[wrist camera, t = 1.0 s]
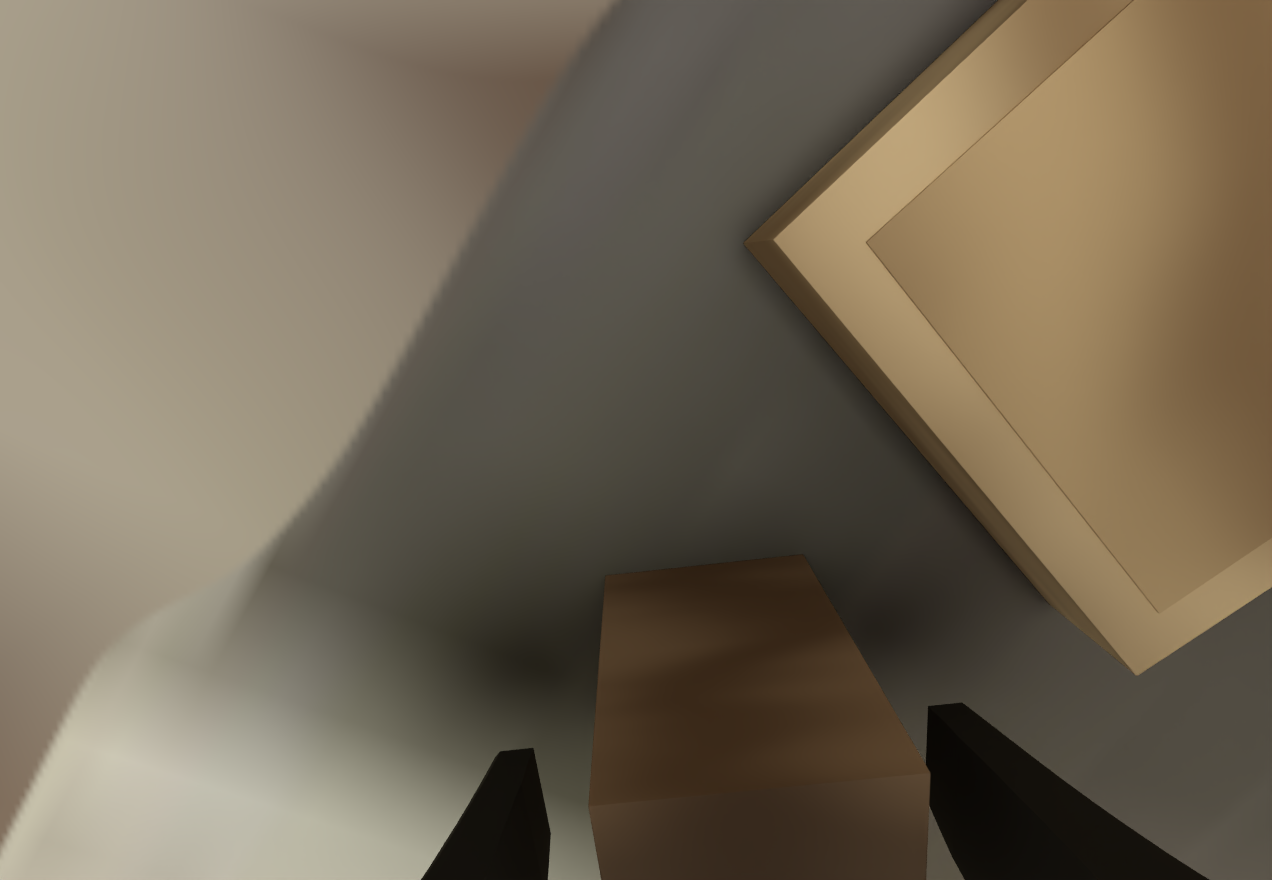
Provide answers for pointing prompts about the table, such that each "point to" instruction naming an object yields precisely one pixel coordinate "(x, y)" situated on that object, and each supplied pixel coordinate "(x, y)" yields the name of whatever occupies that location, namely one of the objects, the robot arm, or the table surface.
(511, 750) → the robot arm
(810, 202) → the oak plinth
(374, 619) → the table surface
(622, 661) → the walnut block
